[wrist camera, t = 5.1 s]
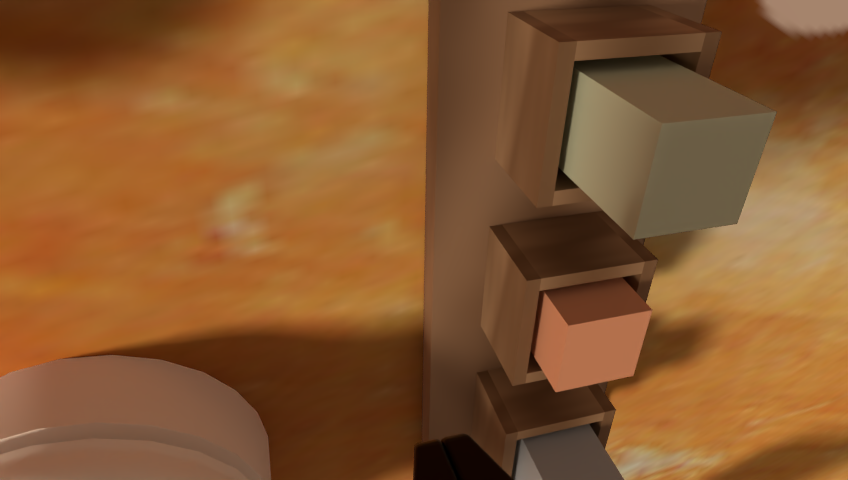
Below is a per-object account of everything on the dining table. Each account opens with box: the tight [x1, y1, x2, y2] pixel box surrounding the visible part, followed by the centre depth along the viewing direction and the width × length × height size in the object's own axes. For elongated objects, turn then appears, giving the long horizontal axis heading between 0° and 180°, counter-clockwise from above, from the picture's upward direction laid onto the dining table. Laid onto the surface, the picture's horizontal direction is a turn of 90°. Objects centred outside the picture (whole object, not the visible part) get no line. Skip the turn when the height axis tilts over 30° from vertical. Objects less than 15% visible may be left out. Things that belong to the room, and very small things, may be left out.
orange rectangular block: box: [530, 277, 652, 392], centre depth 22 cm, size 3×3×5 cm
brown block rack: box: [422, 0, 722, 479], centre depth 23 cm, size 9×25×5 cm, turn 179°
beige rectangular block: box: [558, 55, 777, 240], centre depth 16 cm, size 3×3×5 cm
